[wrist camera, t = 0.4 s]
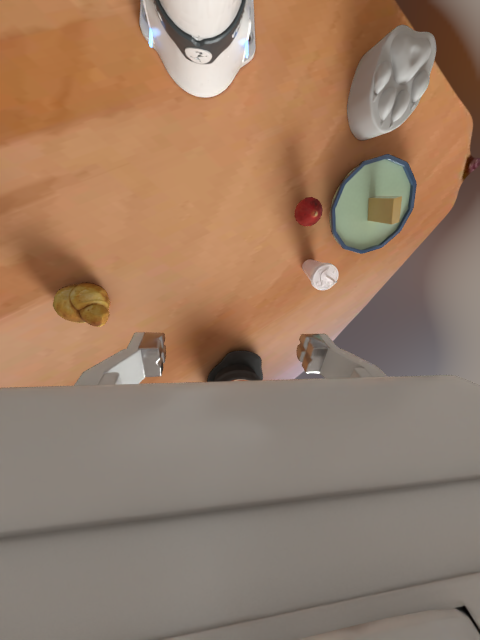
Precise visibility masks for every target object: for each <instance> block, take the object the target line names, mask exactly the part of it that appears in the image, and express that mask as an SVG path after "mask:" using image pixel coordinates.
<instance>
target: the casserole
mask: <svg viewBox="0 0 480 640" xmlns="http://www.w3.org/2000/svg"><path fill="white" fill-rule="evenodd" d="M257 380H263V374H262V370H261V358H260V357H259V356H258V355H257V354H255V353H252V352H249V351H234V352H230V353H229V354H227V355H226V356H225V357H224V359H223V360H222V361H221V362H220V363H219V364H218V365H217V366H216V367H215V368H214V369H213V370H212V371H211V372H210V374H209V376H208V381H207V382H222V381H257Z"/></svg>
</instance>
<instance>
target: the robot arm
mask: <svg viewBox="0 0 480 640" xmlns="http://www.w3.org/2000/svg"><path fill="white" fill-rule="evenodd" d="M146 17H147V18H146ZM140 28H141V32H142V34H143V36H144V38H145V39H146V40H147V41H148V42H149V45H150V47H153V48H154V49H155V50H156V51H157V52H158V54H159V56H160V58H161V60H162V62H163V64H164V66H165V68H166V70H167V71H168V73H169V75H170V76H171V77H172V79H173V80H174V81H175V82H176V83H177V84H178V85H179V86H180V87H181V88H182V89H183V90H185V91H186V92H188V93H190V94H192V95H194V96H197V97H205V98H206V97H213V96H216V95H218V94H220V93H221V92H223V91H224V90H225V89H226V88H227V87H228V86H229V85H230V84H231V82H232V81H233V79H234V78H235V76H236V74H237V72H238V71H239V69H240V68H241V67H243V66H244V65H246V64H247V63H248V62H250V61H251V60H252V58H253V57H254V54H255V25H254V3H253V0H141V4H140ZM249 38H250V41H249V42H248V39H249ZM299 340H300V342H301V343H300V344H299V345H298V347H297V357H298V359H299V361H301V362H302V367H303V368H304V370H305V372H306V373H320V375H322V376H323V377H324V378H326V379H292V380H257V381H222V382H186V383H151V384H139V383H140V382H141V381H142V380H143V379H144V378H145V377H156V376H161V375H162V371H163V363H164V362H165V358H166V346H165V345H164V342H165V334H164V333H151V332H146V333H145V332H136V333H134V335H133V337H132V339H131V341H130V343H129V345H128V347H127V349H123V350H121V351H120V352H118V353H116V354H114V355H113V356H111V357H109V358H107V359H106V360H104V361H102V362H100V363H99V364H97V365H95V366H93V367H91V368H90V369H88V370H86V371H84V372H83V373H82V375H81V376H80V378H79V379H78V381H77V382H76V384H75V385H74V386H45V387H9V388H0V640H480V385H478V384H475V383H473V382H471V381H468V380H466V379H463V378H460V377H457V376H453V375H435V376H434V375H433V376H400V377H387V376H386V375H385V374H384V373H383V372H382V371H381V370H380V368H378V367H377V366H375V365H373V364H371V363H369V362H367V361H365V360H363V359H361V358H359V357H357V356H355V355H353V354H351V353H349V352H347V351H345V350H343V349H341V348H338V347H337V346H336V345H335V344H334V343H333V342H332V340H331V339H330V338H329V337H328V336H327V335H326V334H302V335H301V336H300V339H299Z"/></svg>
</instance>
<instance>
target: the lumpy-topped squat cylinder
mask: <svg viewBox="0 0 480 640" xmlns="http://www.w3.org/2000/svg"><path fill="white" fill-rule="evenodd" d="M435 54H436V43H435V39H434V36H433V35H432V34H431V33H429V32H417V31H414V30H412V29H411V28H409V27H408V26H406V25H399V26H397V27H396V28H394V29H393V30H392V31H391V32H390V33H389V34H387V35H386V36H385V37H384V38H383V39H382V40H380V41H379V42H378V43H377V44H376V45H375V46H374V47H372V48H371V49H370V50H369V51H368V52H367V53H366V54H365V55H364V56H363V57H362V58H361V60H360V62H359V64H358V66H357V69H356V72H355V75H354V78H353V82H352V85H351V89H350V93H349V98H348V104H347V115H348V122H349V126H350V129H351V131H352V133H353V135H354V136H355V137H356V138H357V139H358V140H367V139H370V138H373V137H376V136H379V135H382V134H385V133H388V132H391V131H392V130H394V129H396V128H397V127H399V126H400V125H401V124H402V123H403V122H404V121H405V120H406V119H407V118H408V117H409V116H410V114H411V113H412V112H413V111H414V109H415V108H416V106H417V105H418V103H419V101H420V99H421V96H422V95H423V93H424V92H425V90H426V89H427V87H428V84H429V78H430V77H429V76H430V72H431V69H432V66H433V63H434V58H435Z"/></svg>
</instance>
